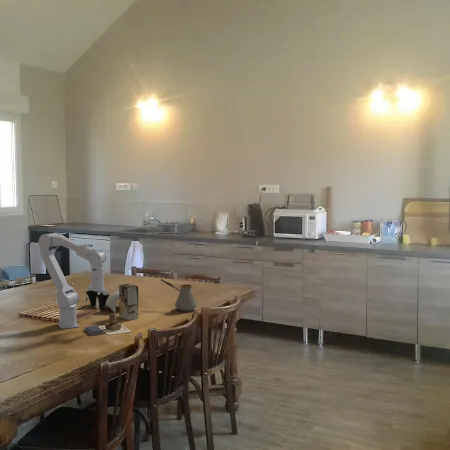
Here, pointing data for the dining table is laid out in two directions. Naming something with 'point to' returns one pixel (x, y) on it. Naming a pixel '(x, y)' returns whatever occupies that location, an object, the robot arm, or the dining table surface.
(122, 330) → the sheet
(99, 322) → the dining table surface
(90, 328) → the ink pad
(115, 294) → the sculpture
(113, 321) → the stamp
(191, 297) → the coffee pot
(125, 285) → the coffee box
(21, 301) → the dining table surface
